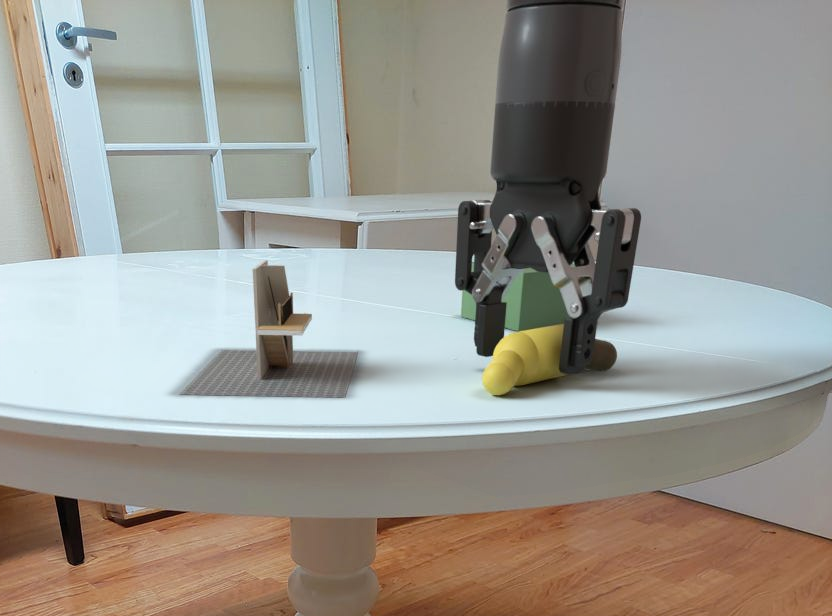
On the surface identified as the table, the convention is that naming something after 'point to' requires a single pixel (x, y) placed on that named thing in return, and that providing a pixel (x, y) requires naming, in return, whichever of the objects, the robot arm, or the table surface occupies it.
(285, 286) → the architectural model
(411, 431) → the table surface
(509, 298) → the block
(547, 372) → the knobbed yellow capsule
